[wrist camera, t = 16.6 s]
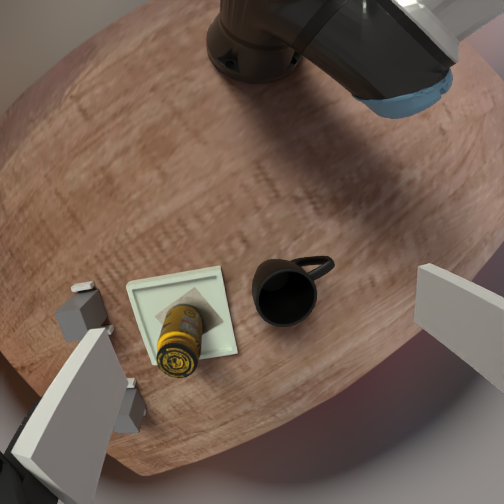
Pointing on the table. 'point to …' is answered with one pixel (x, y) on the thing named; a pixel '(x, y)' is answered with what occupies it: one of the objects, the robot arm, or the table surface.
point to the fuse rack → (91, 317)
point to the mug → (287, 289)
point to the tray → (172, 288)
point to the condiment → (184, 333)
